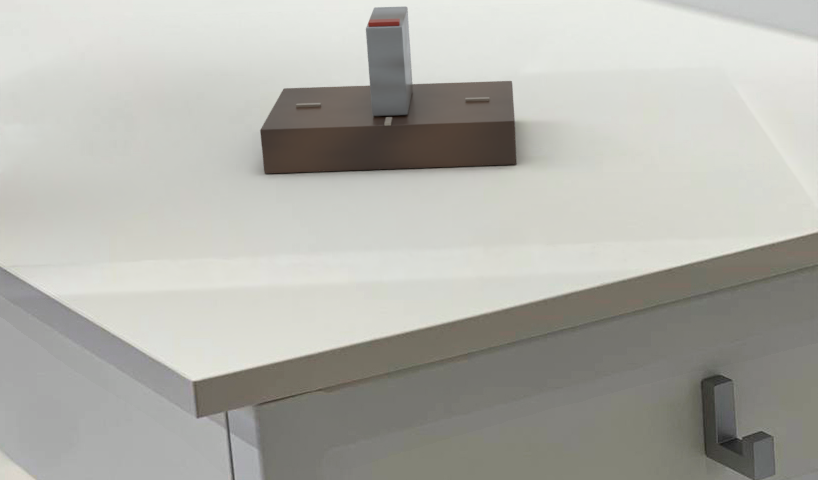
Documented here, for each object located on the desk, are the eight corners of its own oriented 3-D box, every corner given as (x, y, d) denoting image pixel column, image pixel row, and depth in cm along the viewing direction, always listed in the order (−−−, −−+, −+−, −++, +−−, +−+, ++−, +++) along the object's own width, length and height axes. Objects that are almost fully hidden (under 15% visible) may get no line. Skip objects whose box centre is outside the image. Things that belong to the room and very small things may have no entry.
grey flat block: (379, 91, 98) (373, 3, 96) (413, 89, 98) (407, 2, 96) (372, 116, 91) (365, 23, 89) (407, 115, 91) (401, 21, 89)
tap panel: (264, 174, 90) (259, 127, 89) (287, 128, 100) (283, 85, 99) (516, 165, 91) (514, 118, 90) (513, 120, 101) (511, 77, 100)
